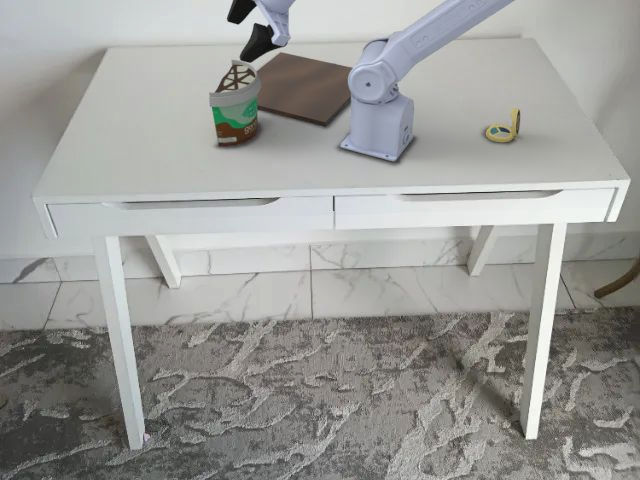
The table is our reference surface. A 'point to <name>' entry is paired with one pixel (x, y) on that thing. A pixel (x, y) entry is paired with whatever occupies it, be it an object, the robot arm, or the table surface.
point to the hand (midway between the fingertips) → (238, 40)
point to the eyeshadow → (505, 129)
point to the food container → (236, 105)
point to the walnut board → (303, 88)
